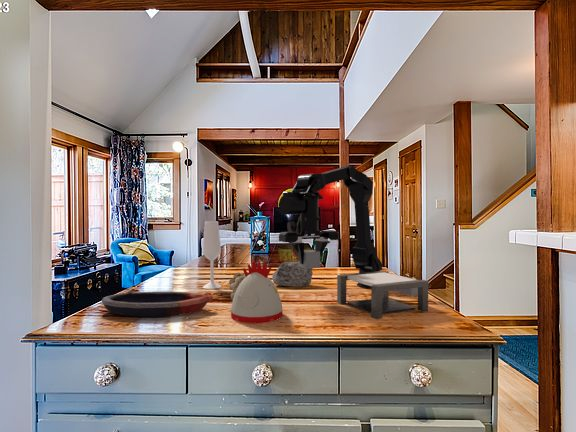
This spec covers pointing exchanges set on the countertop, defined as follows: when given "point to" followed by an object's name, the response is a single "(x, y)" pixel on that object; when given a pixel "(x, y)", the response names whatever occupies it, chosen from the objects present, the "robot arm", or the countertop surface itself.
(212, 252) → the champagne flute
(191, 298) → the dish
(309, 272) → the rock
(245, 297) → the kitchen timer
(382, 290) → the frame
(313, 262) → the grey matte cube
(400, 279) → the trapdoor
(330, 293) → the countertop surface
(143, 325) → the countertop surface
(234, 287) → the mineral formation
